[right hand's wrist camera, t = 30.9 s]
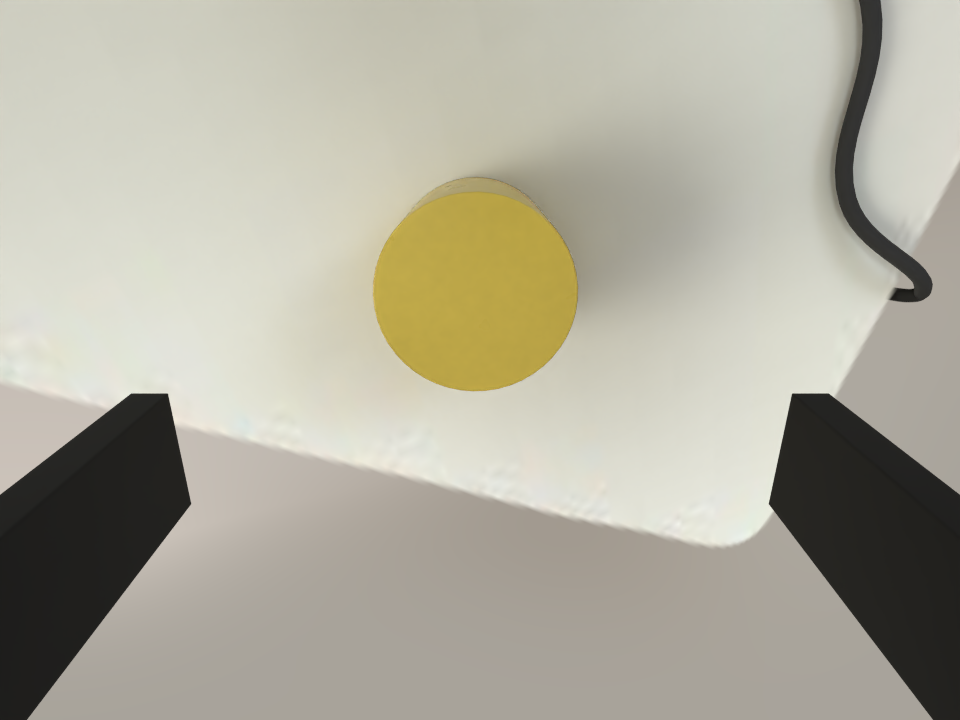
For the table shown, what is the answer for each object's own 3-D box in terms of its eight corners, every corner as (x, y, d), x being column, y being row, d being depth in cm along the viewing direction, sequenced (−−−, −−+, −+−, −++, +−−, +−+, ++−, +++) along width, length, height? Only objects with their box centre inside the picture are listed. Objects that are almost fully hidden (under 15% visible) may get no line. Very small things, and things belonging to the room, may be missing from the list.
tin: (508, 146, 32) (520, 150, 24) (579, 288, 35) (611, 336, 27) (368, 226, 34) (332, 256, 25) (446, 356, 37) (437, 422, 28)
